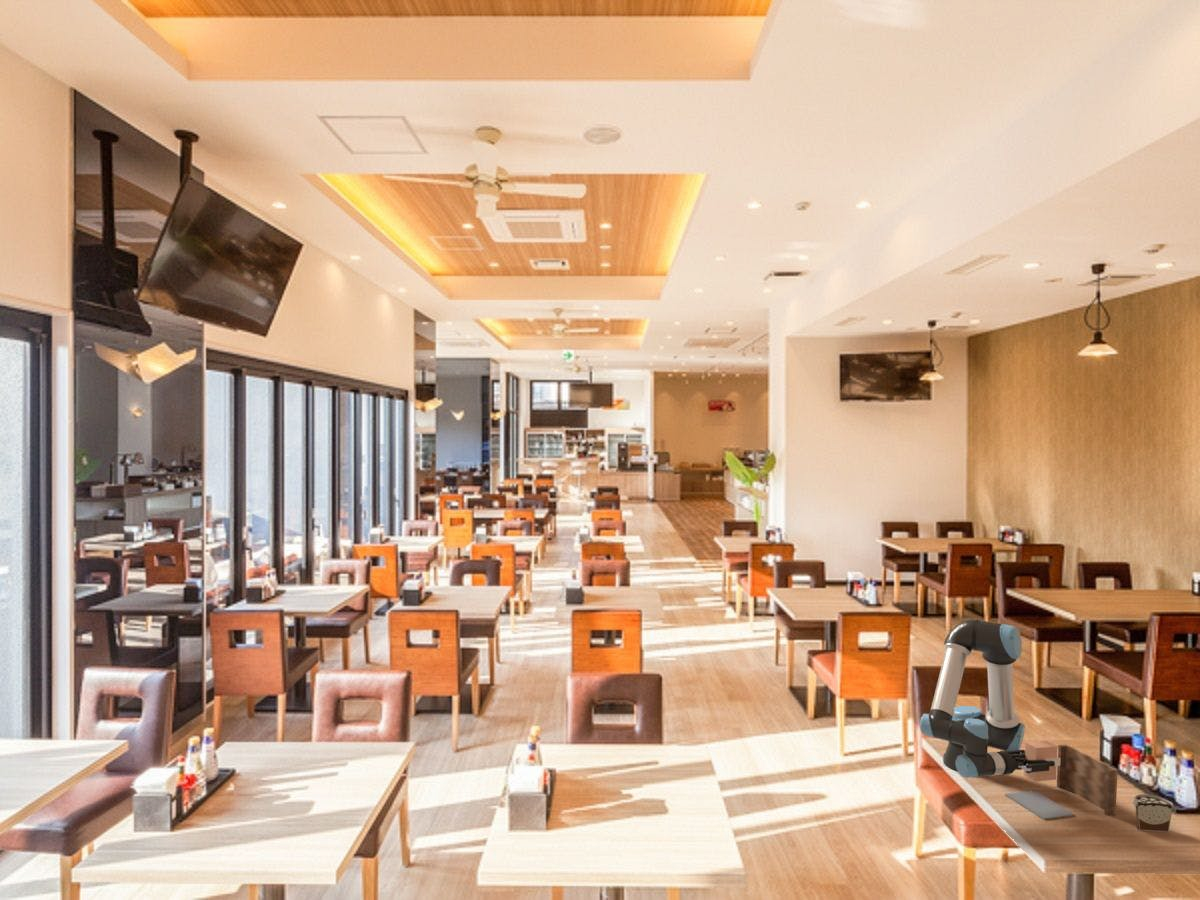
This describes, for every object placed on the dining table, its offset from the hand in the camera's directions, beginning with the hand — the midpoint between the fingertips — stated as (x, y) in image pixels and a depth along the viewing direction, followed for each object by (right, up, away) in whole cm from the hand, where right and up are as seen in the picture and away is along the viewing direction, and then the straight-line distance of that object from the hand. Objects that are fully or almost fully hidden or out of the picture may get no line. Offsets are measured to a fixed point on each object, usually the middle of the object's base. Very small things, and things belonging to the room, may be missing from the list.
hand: (1052, 758), depth 277 cm
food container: (+25, -18, -14) cm, 34 cm away
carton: (-5, -6, -1) cm, 8 cm away
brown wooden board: (+14, -17, +4) cm, 23 cm away
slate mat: (-5, -17, -1) cm, 18 cm away
